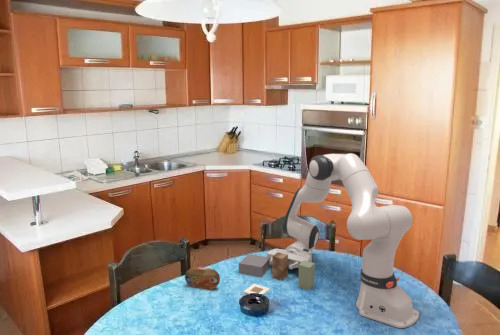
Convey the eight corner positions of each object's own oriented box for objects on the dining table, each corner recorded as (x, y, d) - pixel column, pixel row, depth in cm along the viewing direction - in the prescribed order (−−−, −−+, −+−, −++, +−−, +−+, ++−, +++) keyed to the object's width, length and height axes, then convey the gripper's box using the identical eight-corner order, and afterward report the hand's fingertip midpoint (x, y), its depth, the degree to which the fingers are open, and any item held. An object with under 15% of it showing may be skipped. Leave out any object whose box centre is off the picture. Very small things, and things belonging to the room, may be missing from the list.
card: (270, 289, 172) (270, 288, 172) (260, 297, 165) (260, 296, 165) (253, 284, 176) (253, 283, 176) (243, 292, 170) (243, 291, 169)
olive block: (314, 285, 175) (314, 263, 173) (309, 290, 171) (309, 267, 169) (303, 282, 177) (303, 260, 175) (298, 287, 173) (298, 264, 171)
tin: (185, 286, 175) (184, 267, 174) (188, 283, 178) (187, 264, 177) (218, 291, 171) (217, 272, 169) (221, 287, 174) (220, 268, 172)
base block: (270, 267, 193) (270, 257, 192) (261, 277, 183) (261, 267, 182) (248, 263, 197) (248, 253, 196) (238, 273, 187) (238, 263, 186)
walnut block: (287, 275, 184) (288, 254, 181) (282, 280, 179) (282, 258, 177) (277, 273, 186) (277, 252, 184) (272, 277, 182) (272, 256, 180)
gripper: (275, 243, 198) (259, 253, 187) (314, 252, 187) (301, 263, 176) (275, 255, 199) (260, 266, 188) (314, 265, 188) (301, 277, 177)
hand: (280, 265), depth 182 cm, fingers open, 8 cm apart
